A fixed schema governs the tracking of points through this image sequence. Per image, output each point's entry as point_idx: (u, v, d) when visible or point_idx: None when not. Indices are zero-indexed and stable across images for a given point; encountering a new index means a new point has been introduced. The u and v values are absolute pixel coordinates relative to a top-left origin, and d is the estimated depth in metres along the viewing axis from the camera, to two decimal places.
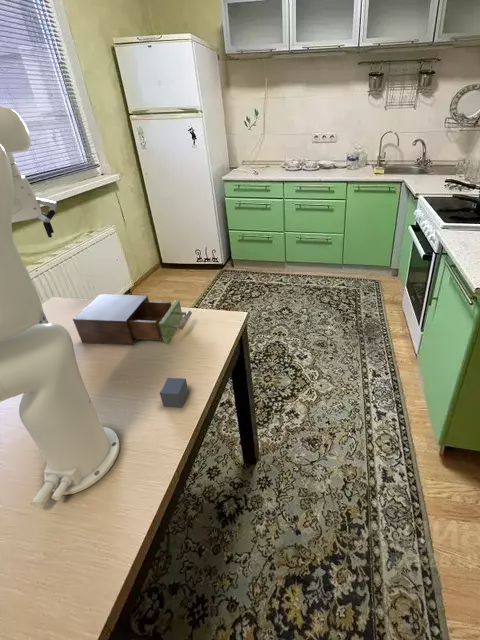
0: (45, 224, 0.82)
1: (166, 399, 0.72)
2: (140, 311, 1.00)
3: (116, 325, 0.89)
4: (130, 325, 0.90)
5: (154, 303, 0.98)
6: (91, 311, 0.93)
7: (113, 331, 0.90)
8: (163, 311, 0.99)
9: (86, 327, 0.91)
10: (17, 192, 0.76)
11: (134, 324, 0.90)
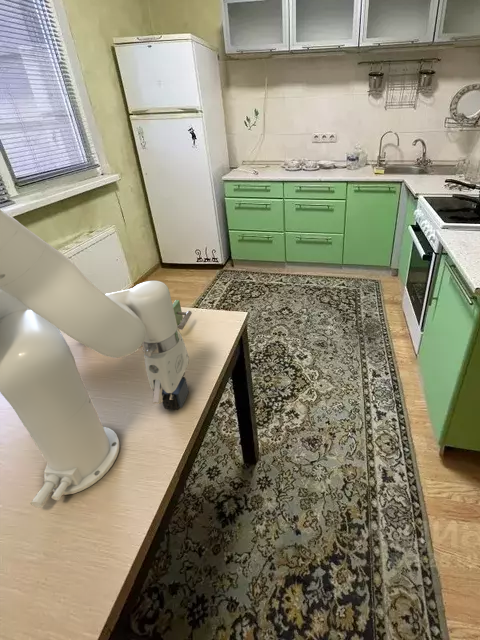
0: (184, 378, 0.76)
1: None
2: None
3: None
4: None
5: None
6: None
7: None
8: None
9: None
10: (180, 347, 0.71)
11: None
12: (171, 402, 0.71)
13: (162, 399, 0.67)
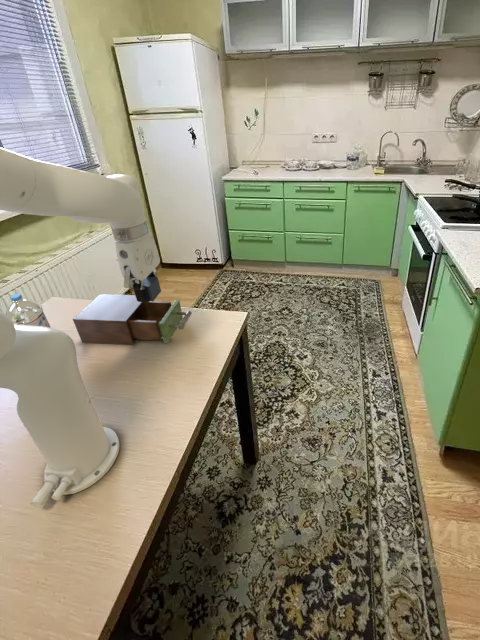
0: None
1: None
2: (140, 311, 1.00)
3: (116, 325, 0.89)
4: (130, 325, 0.90)
5: (154, 303, 0.98)
6: (91, 311, 0.93)
7: (113, 331, 0.90)
8: (163, 311, 0.99)
9: (86, 327, 0.91)
10: (150, 243, 0.78)
11: (134, 324, 0.90)
12: (142, 293, 0.79)
13: (132, 285, 0.75)
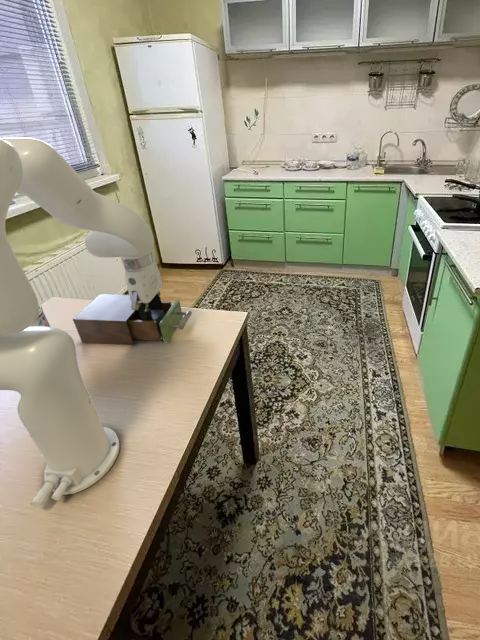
0: (159, 298, 0.95)
1: None
2: None
3: (116, 325, 0.89)
4: (130, 325, 0.90)
5: None
6: (91, 311, 0.93)
7: (113, 331, 0.90)
8: (163, 311, 0.99)
9: (86, 327, 0.91)
10: (154, 270, 0.90)
11: (134, 324, 0.90)
12: (146, 314, 0.90)
13: (138, 308, 0.86)
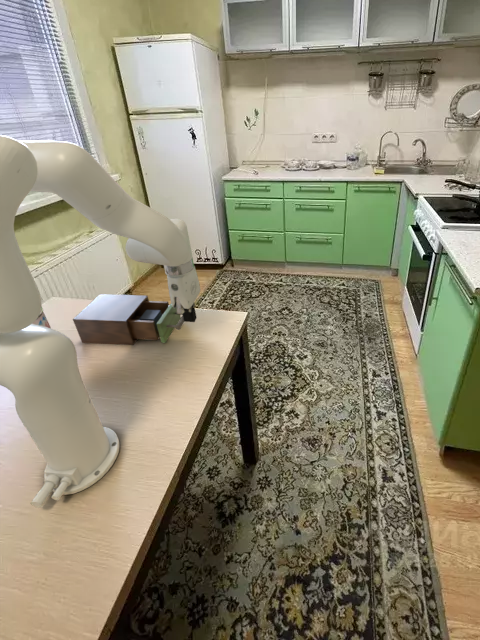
0: (194, 309, 0.93)
1: None
2: (138, 311, 1.00)
3: (116, 325, 0.89)
4: None
5: (152, 303, 0.98)
6: (91, 311, 0.93)
7: (113, 331, 0.90)
8: (161, 311, 0.99)
9: (86, 327, 0.91)
10: (194, 275, 0.90)
11: (131, 324, 0.90)
12: (190, 315, 0.92)
13: (183, 310, 0.88)
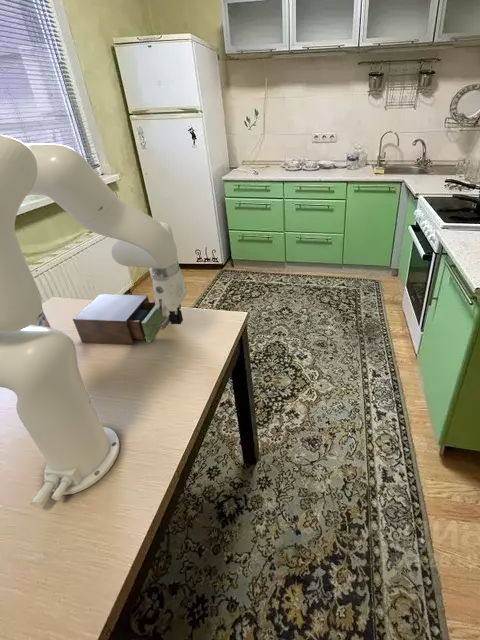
0: (180, 311, 0.94)
1: None
2: None
3: (116, 325, 0.89)
4: None
5: None
6: (91, 311, 0.93)
7: (113, 331, 0.90)
8: (147, 310, 0.99)
9: (86, 327, 0.91)
10: (180, 278, 0.90)
11: None
12: (176, 317, 0.93)
13: (169, 313, 0.89)
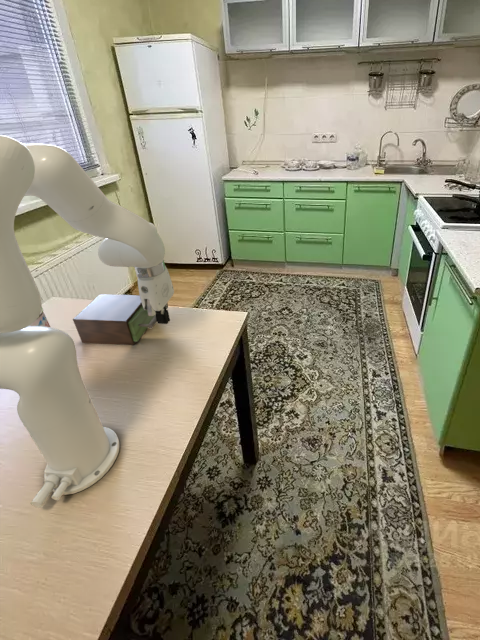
0: (167, 311, 0.94)
1: None
2: None
3: (116, 325, 0.89)
4: None
5: None
6: (91, 311, 0.93)
7: (113, 331, 0.90)
8: None
9: (86, 327, 0.91)
10: (166, 278, 0.91)
11: None
12: (162, 317, 0.93)
13: (155, 312, 0.89)
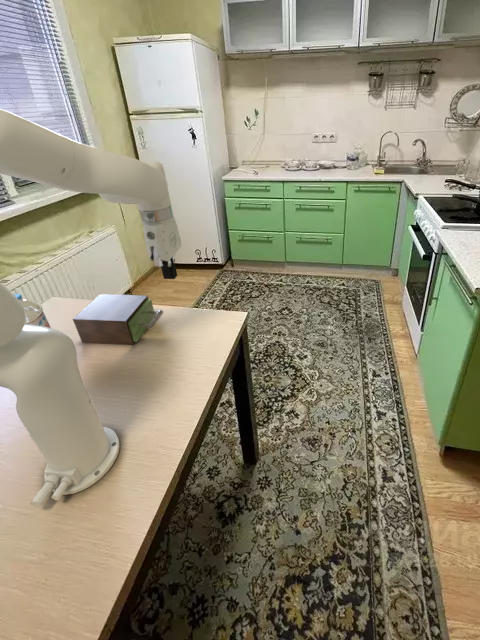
0: (174, 264, 0.87)
1: None
2: None
3: (116, 325, 0.89)
4: None
5: None
6: (91, 311, 0.93)
7: (113, 331, 0.90)
8: None
9: (86, 327, 0.91)
10: (174, 226, 0.83)
11: None
12: (169, 270, 0.85)
13: (162, 263, 0.82)
